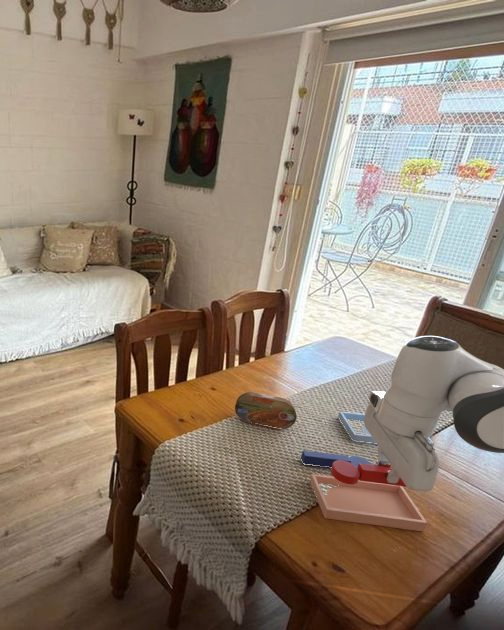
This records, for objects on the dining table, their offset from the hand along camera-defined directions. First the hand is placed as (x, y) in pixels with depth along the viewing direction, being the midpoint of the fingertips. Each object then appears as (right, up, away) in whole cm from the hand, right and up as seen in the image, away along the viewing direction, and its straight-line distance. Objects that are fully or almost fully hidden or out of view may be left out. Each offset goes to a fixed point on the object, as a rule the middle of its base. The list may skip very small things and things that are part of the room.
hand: (386, 474), depth 88 cm
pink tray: (-2, -8, +4) cm, 9 cm away
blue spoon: (-2, -3, +14) cm, 15 cm away
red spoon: (-3, -1, +1) cm, 3 cm away
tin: (-13, +3, +30) cm, 32 cm away
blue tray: (+17, +1, +26) cm, 31 cm away
